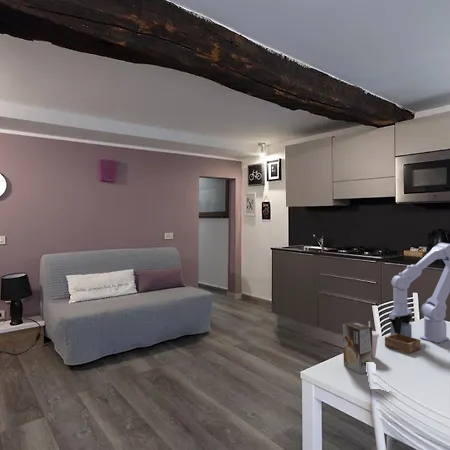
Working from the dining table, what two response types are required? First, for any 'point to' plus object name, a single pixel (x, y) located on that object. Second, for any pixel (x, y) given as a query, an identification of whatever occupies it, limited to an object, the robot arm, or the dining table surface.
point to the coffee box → (357, 346)
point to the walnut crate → (402, 343)
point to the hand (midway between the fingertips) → (400, 331)
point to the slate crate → (403, 329)
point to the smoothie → (374, 341)
